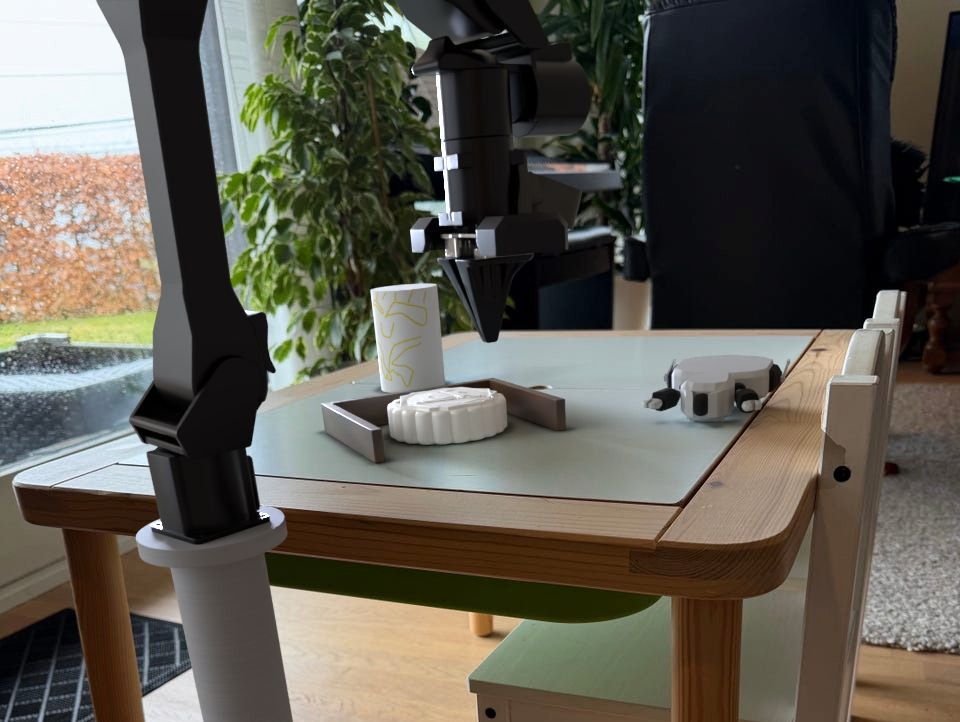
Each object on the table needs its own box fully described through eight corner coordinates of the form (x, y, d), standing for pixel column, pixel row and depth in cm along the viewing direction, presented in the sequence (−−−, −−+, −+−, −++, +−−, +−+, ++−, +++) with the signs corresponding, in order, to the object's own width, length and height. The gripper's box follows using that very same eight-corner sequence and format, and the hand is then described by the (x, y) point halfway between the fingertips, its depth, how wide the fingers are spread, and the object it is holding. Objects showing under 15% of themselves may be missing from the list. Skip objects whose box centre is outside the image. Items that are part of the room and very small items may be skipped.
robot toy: (764, 438, 91) (790, 394, 103) (765, 390, 89) (792, 350, 101) (636, 434, 96) (674, 392, 108) (635, 388, 94) (674, 351, 106)
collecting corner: (566, 429, 97) (565, 398, 96) (375, 463, 90) (371, 430, 89) (495, 404, 111) (493, 377, 109) (324, 432, 104) (320, 403, 102)
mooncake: (490, 413, 106) (488, 379, 105) (521, 435, 96) (519, 398, 94) (381, 427, 104) (377, 392, 102) (401, 451, 93) (397, 413, 92)
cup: (370, 393, 123) (358, 292, 118) (399, 380, 130) (389, 284, 125) (429, 393, 120) (419, 289, 115) (455, 380, 127) (447, 282, 122)
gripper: (626, 124, 73) (628, 340, 79) (515, 143, 89) (524, 322, 95) (491, 131, 69) (505, 358, 76) (400, 149, 85) (418, 336, 91)
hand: (490, 342), depth 84 cm, fingers closed
